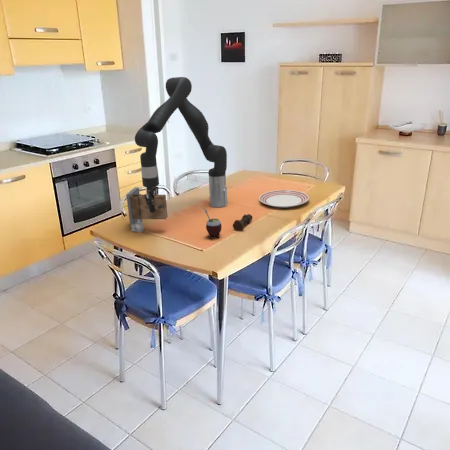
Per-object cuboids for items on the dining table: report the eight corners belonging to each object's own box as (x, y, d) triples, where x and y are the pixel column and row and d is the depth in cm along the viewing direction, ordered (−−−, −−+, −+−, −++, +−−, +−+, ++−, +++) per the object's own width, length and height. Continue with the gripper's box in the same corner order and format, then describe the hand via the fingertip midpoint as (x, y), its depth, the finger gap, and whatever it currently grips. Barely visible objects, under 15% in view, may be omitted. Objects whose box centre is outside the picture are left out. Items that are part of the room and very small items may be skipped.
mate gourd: (225, 236, 198) (223, 205, 192) (212, 241, 192) (211, 210, 187) (213, 232, 203) (212, 202, 197) (201, 237, 197) (199, 206, 192)
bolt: (251, 224, 216) (239, 233, 203) (243, 218, 217) (230, 227, 204) (256, 215, 213) (245, 224, 200) (248, 209, 214) (236, 218, 201)
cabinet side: (151, 221, 219) (148, 187, 213) (142, 232, 206) (138, 196, 199) (138, 221, 220) (134, 187, 214) (128, 232, 207) (124, 196, 200)
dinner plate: (293, 214, 222) (293, 208, 221) (249, 205, 237) (249, 199, 236) (317, 199, 242) (317, 194, 241) (275, 192, 258) (275, 187, 256)
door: (167, 216, 205) (165, 194, 201) (164, 220, 200) (162, 197, 196) (135, 216, 207) (132, 194, 203) (131, 219, 203) (129, 197, 199)
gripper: (153, 179, 189) (156, 216, 196) (162, 171, 202) (165, 205, 209) (136, 179, 190) (141, 215, 197) (147, 171, 203) (150, 205, 210)
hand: (153, 210), depth 203 cm, fingers closed on door, 3 cm apart
